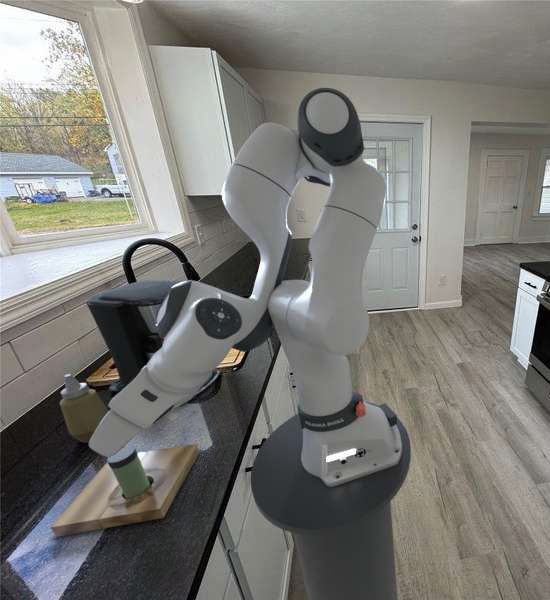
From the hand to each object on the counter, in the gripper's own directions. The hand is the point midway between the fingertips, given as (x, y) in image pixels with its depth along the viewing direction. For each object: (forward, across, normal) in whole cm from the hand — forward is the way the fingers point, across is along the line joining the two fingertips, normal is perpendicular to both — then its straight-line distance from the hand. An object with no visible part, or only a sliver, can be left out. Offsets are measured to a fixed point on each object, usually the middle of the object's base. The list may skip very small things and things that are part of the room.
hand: (138, 424), depth 57 cm
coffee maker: (+34, -40, -7) cm, 53 cm away
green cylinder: (+18, 0, +9) cm, 20 cm away
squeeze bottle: (+37, -17, -10) cm, 42 cm away
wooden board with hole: (+20, -2, +7) cm, 21 cm away
